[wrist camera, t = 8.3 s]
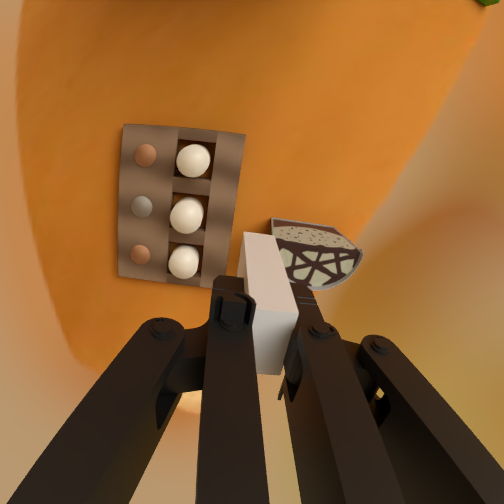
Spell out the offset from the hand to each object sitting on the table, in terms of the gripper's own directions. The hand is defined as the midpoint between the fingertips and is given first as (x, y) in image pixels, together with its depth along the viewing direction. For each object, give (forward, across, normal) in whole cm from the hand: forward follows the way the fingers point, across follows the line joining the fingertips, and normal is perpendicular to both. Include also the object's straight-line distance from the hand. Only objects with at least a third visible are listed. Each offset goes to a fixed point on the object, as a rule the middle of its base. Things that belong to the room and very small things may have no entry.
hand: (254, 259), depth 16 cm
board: (+28, -8, -6) cm, 30 cm away
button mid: (+27, -6, -6) cm, 28 cm away
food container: (+29, +10, -9) cm, 32 cm away
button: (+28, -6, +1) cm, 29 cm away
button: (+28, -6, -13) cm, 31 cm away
